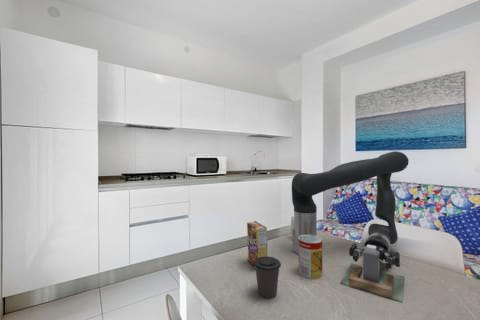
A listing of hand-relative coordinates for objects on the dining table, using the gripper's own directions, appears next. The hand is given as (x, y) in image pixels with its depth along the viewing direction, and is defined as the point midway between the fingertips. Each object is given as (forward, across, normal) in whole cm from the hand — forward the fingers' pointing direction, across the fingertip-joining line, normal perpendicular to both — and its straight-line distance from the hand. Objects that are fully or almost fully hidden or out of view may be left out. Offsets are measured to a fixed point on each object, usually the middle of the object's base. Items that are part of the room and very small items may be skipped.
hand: (370, 262), depth 70 cm
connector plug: (-1, 0, +7) cm, 7 cm away
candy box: (+9, -36, +8) cm, 38 cm away
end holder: (-5, 0, +8) cm, 9 cm away
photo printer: (-27, -34, +8) cm, 44 cm away
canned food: (+3, -18, +8) cm, 20 cm away
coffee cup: (+22, -24, +8) cm, 33 cm away
